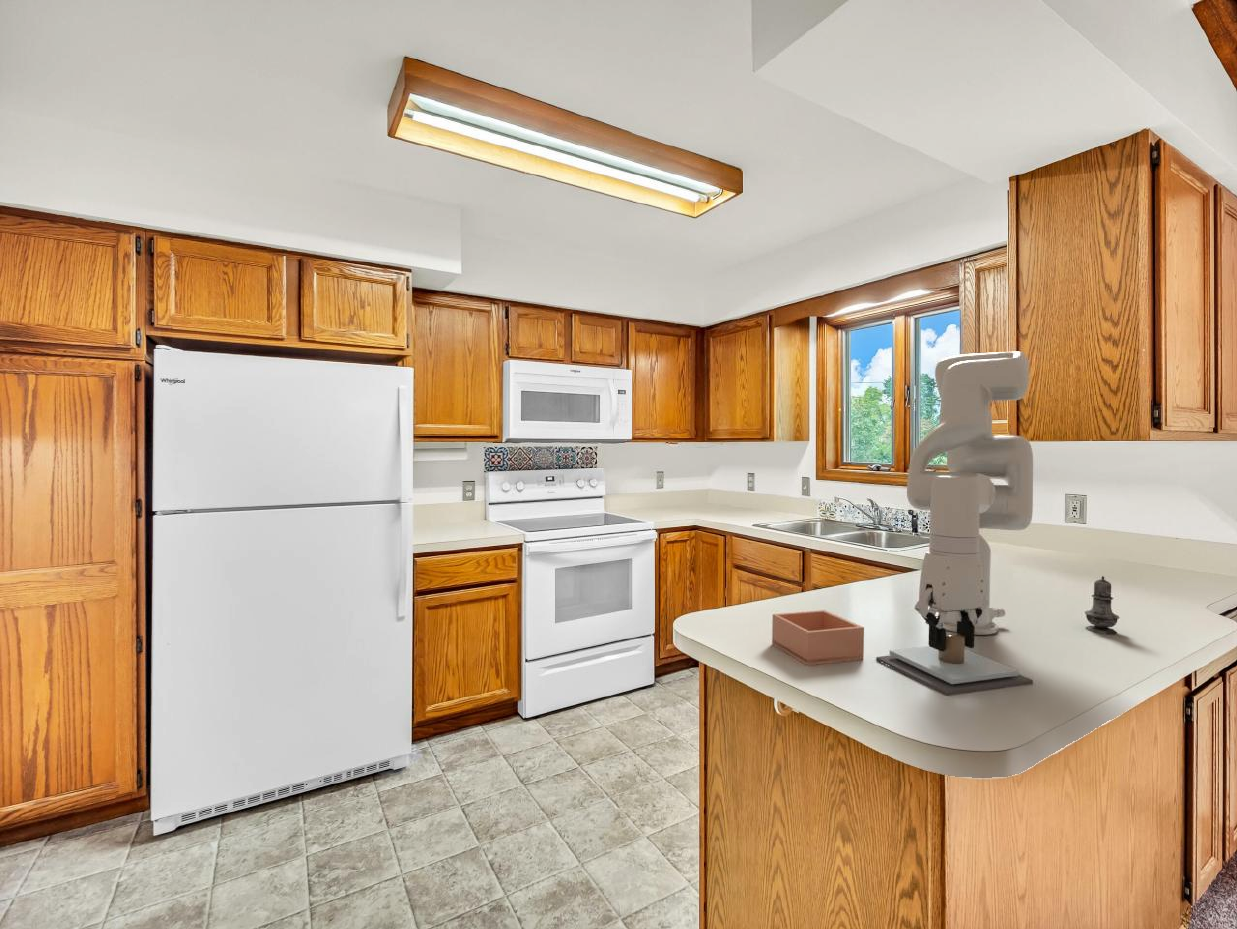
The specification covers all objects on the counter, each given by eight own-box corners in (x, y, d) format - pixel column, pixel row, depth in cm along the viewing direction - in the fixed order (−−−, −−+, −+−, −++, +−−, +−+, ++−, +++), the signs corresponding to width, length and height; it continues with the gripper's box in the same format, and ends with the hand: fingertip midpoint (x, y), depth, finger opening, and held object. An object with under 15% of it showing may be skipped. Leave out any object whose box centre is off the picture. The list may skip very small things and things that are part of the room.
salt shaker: (1115, 636, 123) (1117, 580, 123) (1080, 630, 128) (1082, 575, 127) (1121, 631, 127) (1123, 576, 127) (1087, 625, 131) (1089, 571, 131)
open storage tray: (823, 638, 121) (824, 610, 121) (863, 659, 109) (864, 627, 109) (772, 644, 117) (772, 614, 117) (807, 665, 106) (807, 632, 106)
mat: (953, 651, 114) (954, 648, 114) (1032, 683, 98) (1032, 680, 98) (876, 660, 109) (876, 657, 109) (946, 695, 93) (946, 691, 93)
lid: (950, 651, 112) (951, 620, 112) (1018, 678, 99) (1019, 644, 99) (889, 657, 108) (890, 626, 108) (951, 687, 95) (952, 652, 95)
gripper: (973, 540, 109) (971, 636, 109) (897, 543, 104) (895, 644, 105) (1011, 546, 102) (1008, 650, 102) (930, 551, 97) (928, 659, 97)
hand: (951, 646), depth 103 cm, fingers open, 5 cm apart
